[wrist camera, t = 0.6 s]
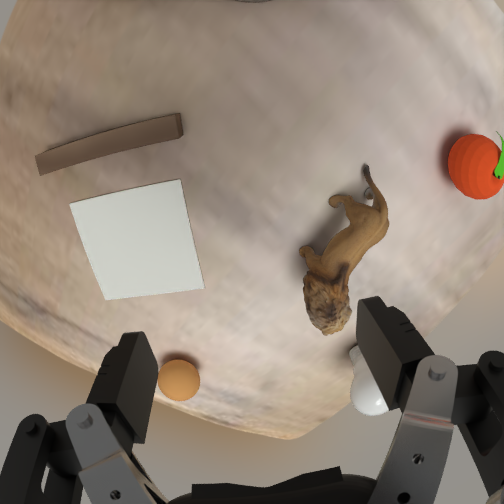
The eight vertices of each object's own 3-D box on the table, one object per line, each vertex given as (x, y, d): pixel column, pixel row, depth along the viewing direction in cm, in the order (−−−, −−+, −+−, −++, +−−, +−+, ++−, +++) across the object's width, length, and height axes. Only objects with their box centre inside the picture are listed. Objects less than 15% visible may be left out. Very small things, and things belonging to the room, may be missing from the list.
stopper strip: (47, 150, 24) (34, 156, 22) (179, 113, 25) (174, 114, 22) (52, 168, 25) (40, 175, 23) (183, 134, 26) (179, 138, 23)
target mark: (70, 203, 27) (69, 203, 27) (180, 178, 27) (180, 179, 27) (106, 299, 33) (105, 300, 33) (204, 287, 33) (204, 288, 33)
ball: (154, 352, 38) (148, 385, 33) (195, 349, 38) (192, 382, 33) (167, 378, 40) (163, 409, 36) (205, 375, 40) (204, 407, 36)
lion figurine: (324, 290, 35) (349, 346, 27) (282, 280, 34) (298, 338, 26) (384, 173, 29) (434, 205, 21) (340, 152, 27) (383, 178, 19)
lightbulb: (375, 356, 42) (402, 414, 32) (335, 367, 42) (356, 430, 32) (378, 326, 38) (411, 388, 29) (334, 338, 39) (359, 406, 29)
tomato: (450, 109, 25) (495, 119, 19) (487, 136, 27) (528, 152, 20) (427, 174, 29) (467, 196, 22) (465, 195, 30) (503, 219, 24)
